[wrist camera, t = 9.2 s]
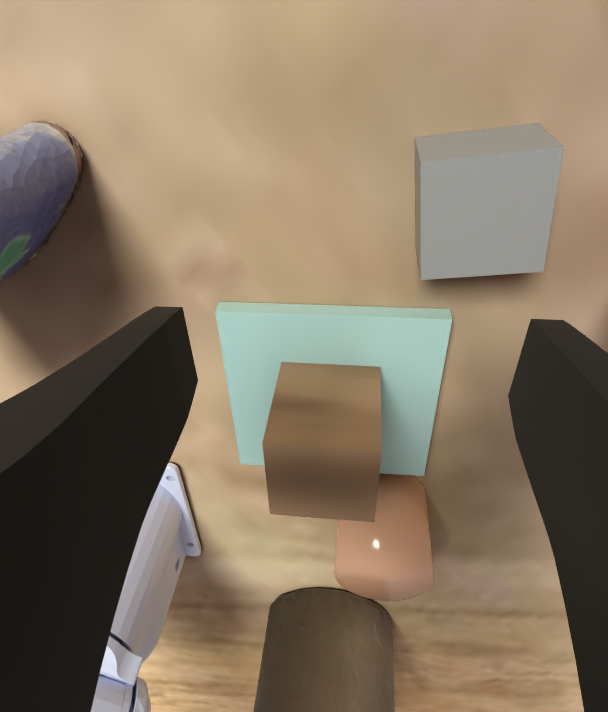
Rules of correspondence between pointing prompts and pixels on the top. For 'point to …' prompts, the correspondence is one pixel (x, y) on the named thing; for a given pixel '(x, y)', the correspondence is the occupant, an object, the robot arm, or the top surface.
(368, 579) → the peach domed cylinder
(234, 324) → the coaster
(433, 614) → the top surface
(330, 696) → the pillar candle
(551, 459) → the robot arm
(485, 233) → the grey square block
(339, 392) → the walnut block
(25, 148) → the flask
